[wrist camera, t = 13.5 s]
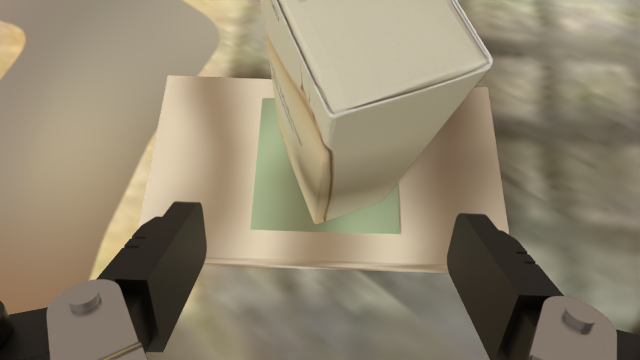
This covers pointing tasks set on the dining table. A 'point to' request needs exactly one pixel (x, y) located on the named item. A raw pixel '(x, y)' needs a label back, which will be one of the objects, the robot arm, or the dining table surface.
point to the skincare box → (365, 90)
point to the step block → (286, 196)
